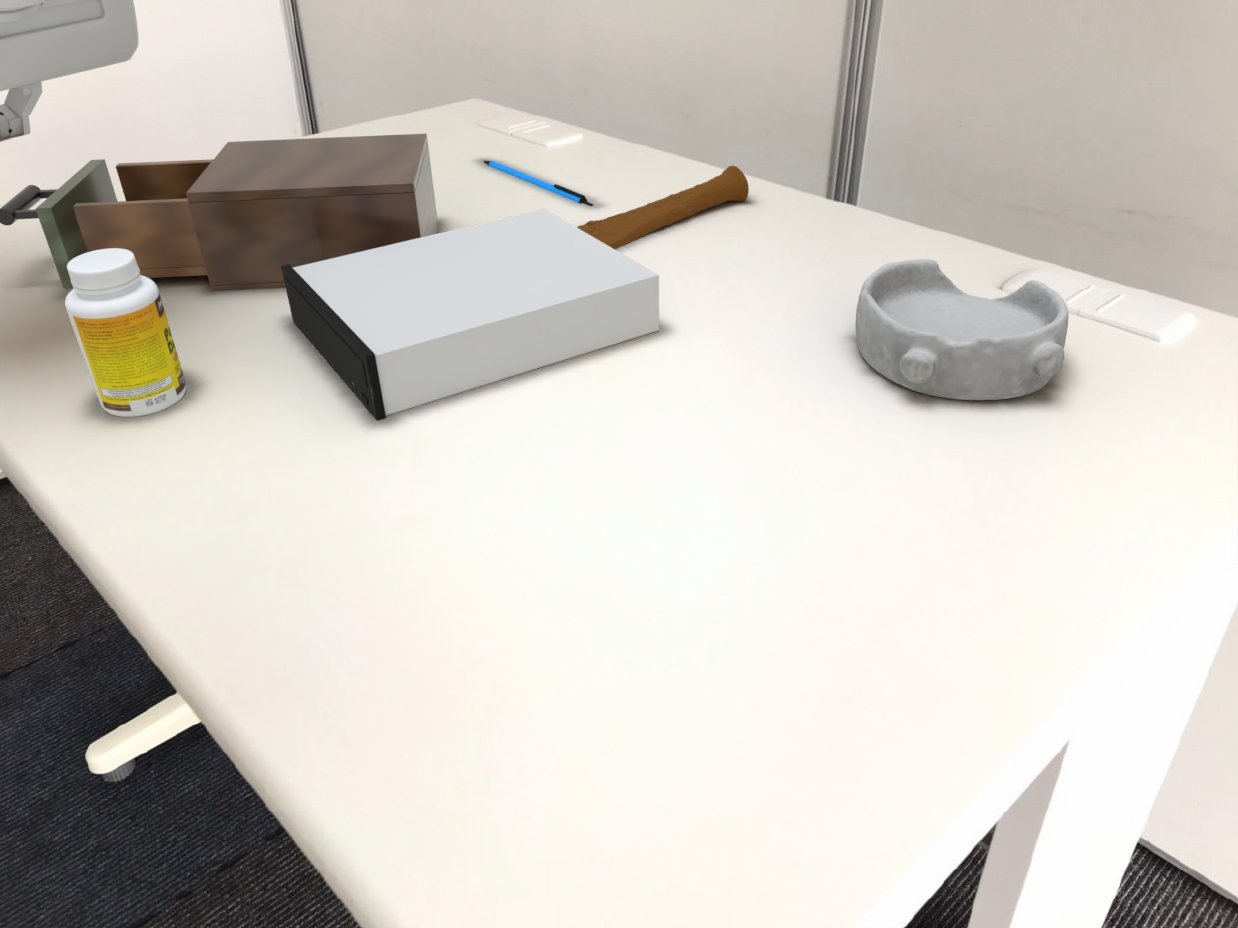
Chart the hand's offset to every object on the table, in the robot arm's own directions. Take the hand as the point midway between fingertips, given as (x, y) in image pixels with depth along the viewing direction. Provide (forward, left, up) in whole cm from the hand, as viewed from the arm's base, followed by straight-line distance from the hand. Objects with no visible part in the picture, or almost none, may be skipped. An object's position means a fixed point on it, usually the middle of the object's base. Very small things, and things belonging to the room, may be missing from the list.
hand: (4, 135), depth 73 cm
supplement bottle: (+11, -15, -14) cm, 23 cm away
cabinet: (+20, +9, -14) cm, 26 cm away
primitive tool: (+50, +13, -14) cm, 53 cm away
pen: (+38, +26, -14) cm, 48 cm away
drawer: (+5, +9, -13) cm, 17 cm away
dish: (+67, -16, -14) cm, 70 cm away
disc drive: (+33, -7, -14) cm, 36 cm away
